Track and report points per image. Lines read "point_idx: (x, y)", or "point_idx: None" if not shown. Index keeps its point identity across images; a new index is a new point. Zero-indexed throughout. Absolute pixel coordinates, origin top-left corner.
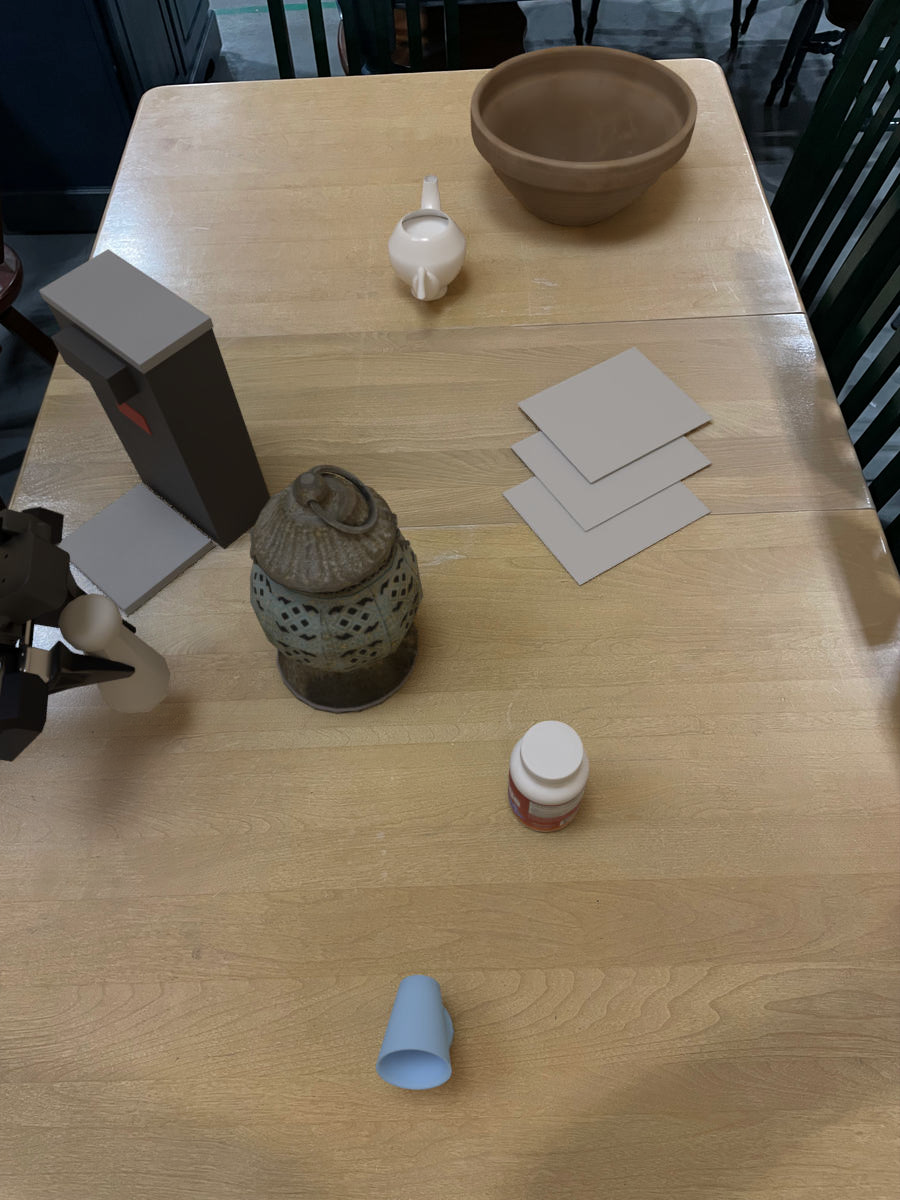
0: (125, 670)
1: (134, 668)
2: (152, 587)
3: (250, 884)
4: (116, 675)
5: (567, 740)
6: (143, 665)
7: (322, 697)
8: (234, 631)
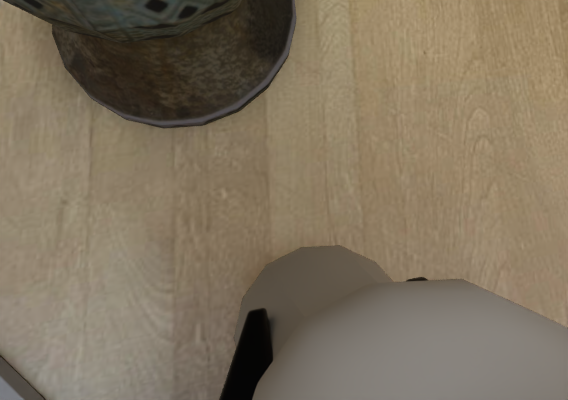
0: None
1: (414, 279)
2: (14, 389)
3: (564, 127)
4: None
5: None
6: (367, 270)
7: (277, 31)
8: (128, 210)
